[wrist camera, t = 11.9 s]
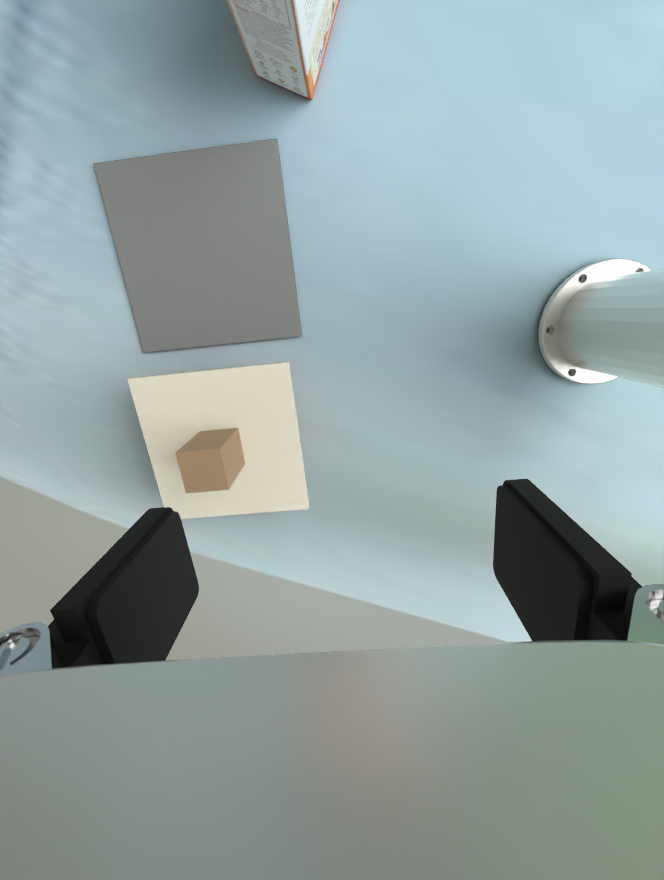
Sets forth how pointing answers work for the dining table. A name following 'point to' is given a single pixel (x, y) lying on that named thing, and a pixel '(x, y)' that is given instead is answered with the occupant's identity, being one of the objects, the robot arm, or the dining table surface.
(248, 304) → the mat
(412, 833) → the robot arm
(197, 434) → the lid
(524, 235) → the dining table surface
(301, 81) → the cracker box
